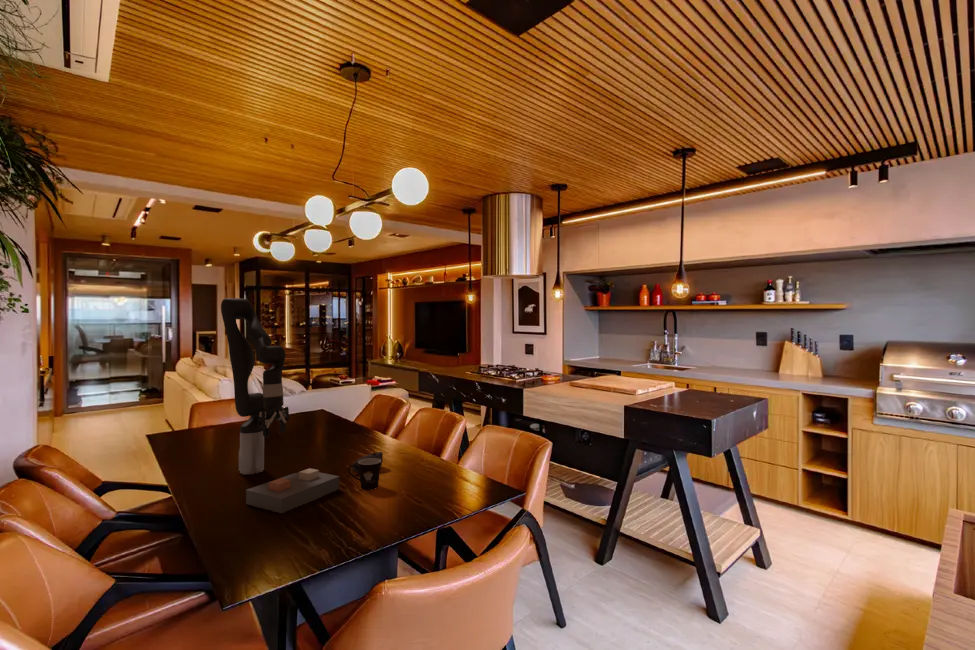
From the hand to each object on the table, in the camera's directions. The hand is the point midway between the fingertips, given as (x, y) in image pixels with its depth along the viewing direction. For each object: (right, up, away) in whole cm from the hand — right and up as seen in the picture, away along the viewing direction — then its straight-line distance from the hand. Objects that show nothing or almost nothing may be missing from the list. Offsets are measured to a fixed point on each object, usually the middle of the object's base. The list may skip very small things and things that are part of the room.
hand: (274, 434), depth 191 cm
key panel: (+16, -18, -19) cm, 31 cm away
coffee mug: (+40, -18, -9) cm, 44 cm away
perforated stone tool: (+35, -18, +11) cm, 41 cm away
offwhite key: (+19, -14, -14) cm, 28 cm away
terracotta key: (+13, -14, -25) cm, 32 cm away
